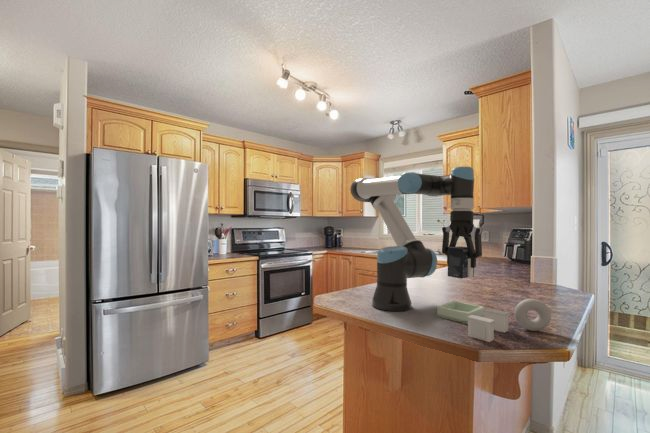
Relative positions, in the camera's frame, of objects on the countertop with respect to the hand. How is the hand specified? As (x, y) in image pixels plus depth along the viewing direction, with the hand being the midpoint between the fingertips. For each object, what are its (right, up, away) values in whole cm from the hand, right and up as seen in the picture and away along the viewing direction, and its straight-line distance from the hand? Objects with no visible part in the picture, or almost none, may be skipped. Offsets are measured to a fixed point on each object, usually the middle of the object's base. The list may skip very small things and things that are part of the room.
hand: (460, 275), depth 109 cm
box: (0, -1, 0) cm, 1 cm away
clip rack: (+1, -14, -17) cm, 22 cm away
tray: (0, -15, 0) cm, 15 cm away
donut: (+16, -15, -14) cm, 26 cm away
